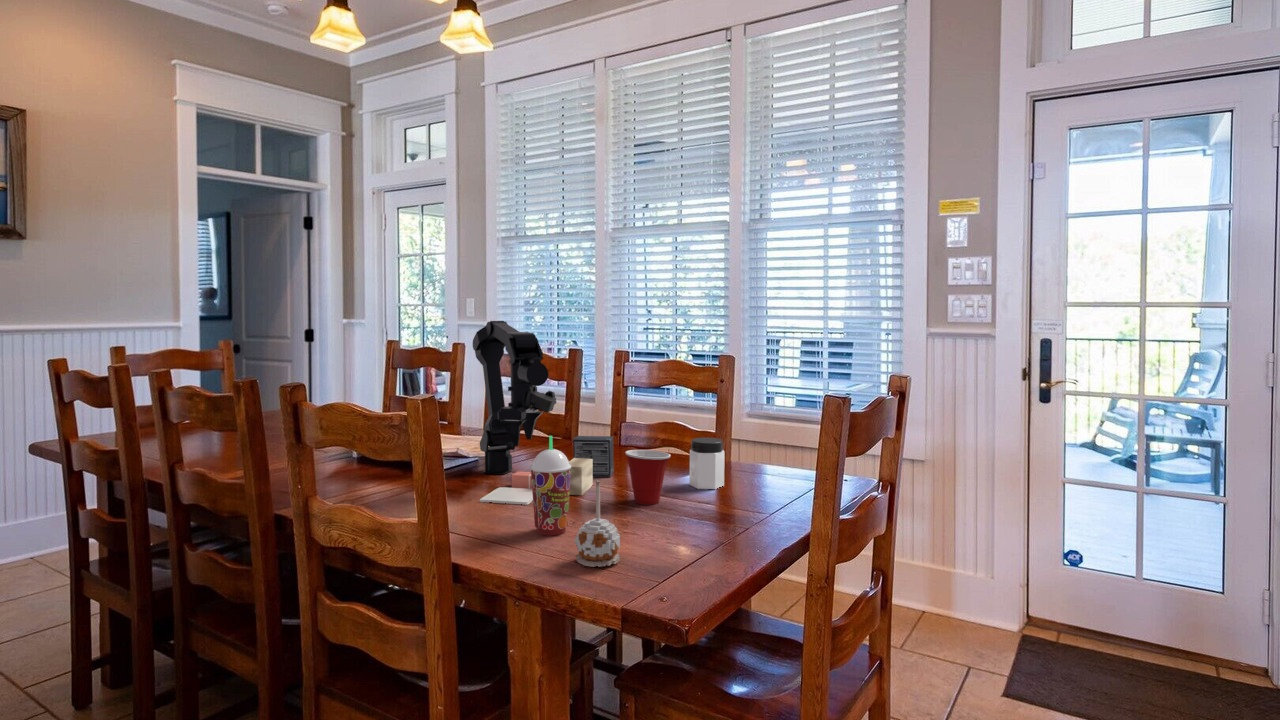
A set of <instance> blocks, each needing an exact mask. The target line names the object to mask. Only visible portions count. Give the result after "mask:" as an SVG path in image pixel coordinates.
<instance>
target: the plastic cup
mask: <svg viewBox="0 0 1280 720" xmlns="http://www.w3.org/2000/svg"><path fill="white" fill-rule="evenodd" d="M625 456H626V457H627V463H628V466H629V473H630V482H631V487H632V492H633V498H634V501H635V503H636V504H639V505H645V506H647V505H655V504H658V503H659V501H660V500H661V493H662V489H663V484H664V479H665V472H666V469H667V464H668V461H669V459H670V458H671V454H670V453H668V452H664V451H659V450H651V449H630V450H629V449H628V450H626V451H625Z"/></svg>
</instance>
